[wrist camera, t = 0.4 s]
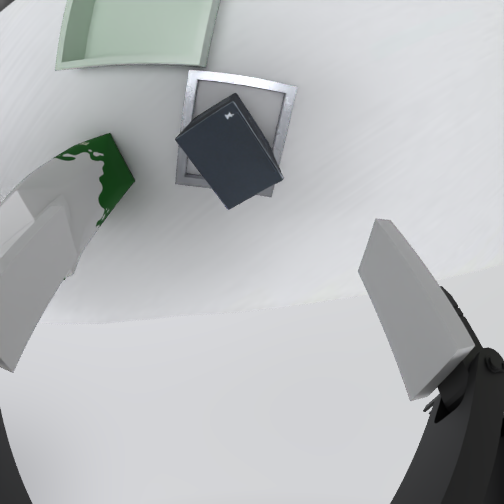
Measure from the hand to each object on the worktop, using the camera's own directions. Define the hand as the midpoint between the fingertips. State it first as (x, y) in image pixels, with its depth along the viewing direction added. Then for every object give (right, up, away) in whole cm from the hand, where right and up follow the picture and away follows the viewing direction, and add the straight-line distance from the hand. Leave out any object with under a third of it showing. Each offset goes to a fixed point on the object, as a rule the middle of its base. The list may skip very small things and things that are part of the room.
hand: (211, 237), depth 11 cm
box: (-1, +13, +19) cm, 23 cm away
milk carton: (-17, +10, +20) cm, 28 cm away
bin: (-10, +26, +9) cm, 29 cm away
